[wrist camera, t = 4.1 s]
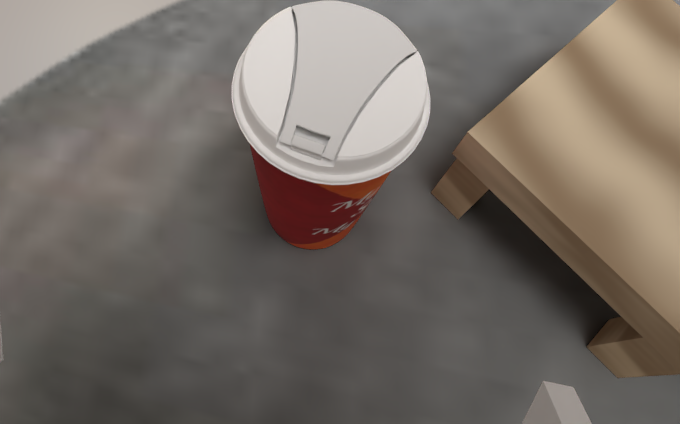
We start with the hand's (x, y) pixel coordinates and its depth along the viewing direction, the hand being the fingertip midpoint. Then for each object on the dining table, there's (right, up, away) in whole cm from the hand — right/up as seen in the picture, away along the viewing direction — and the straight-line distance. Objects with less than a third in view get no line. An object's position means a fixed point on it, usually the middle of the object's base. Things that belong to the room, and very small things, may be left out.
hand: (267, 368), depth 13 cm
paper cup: (0, +4, +19) cm, 20 cm away
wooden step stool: (+18, +4, +21) cm, 29 cm away
